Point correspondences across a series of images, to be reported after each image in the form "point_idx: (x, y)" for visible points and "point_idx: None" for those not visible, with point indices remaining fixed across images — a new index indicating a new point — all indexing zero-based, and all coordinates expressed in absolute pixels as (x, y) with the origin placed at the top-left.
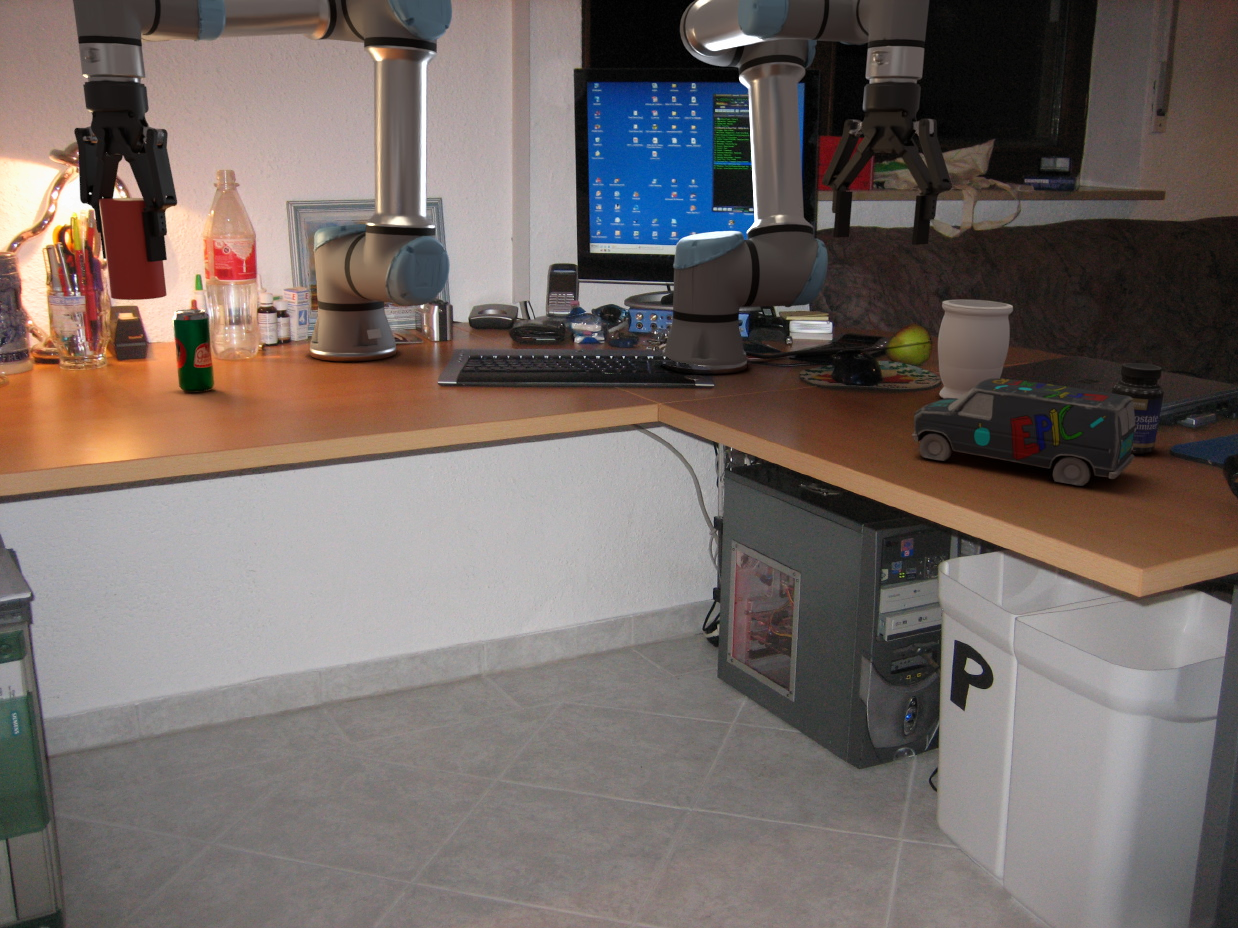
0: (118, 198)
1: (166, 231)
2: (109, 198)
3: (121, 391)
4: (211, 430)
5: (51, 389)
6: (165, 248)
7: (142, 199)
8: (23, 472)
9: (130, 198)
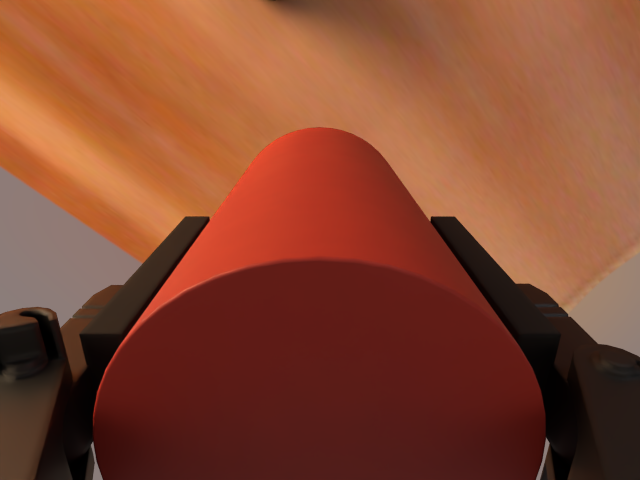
0: (160, 427)
1: (547, 298)
2: (109, 460)
3: (140, 45)
4: (503, 212)
5: (10, 96)
6: (470, 235)
7: (442, 430)
8: None
9: (236, 378)
